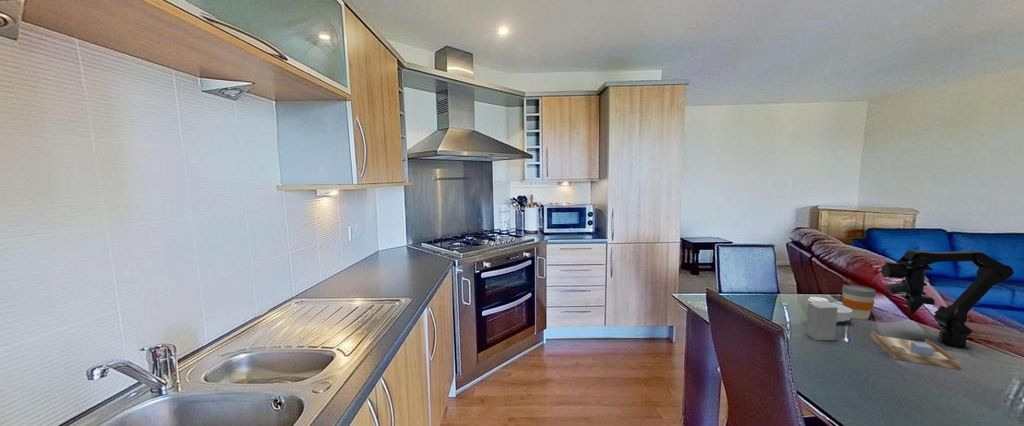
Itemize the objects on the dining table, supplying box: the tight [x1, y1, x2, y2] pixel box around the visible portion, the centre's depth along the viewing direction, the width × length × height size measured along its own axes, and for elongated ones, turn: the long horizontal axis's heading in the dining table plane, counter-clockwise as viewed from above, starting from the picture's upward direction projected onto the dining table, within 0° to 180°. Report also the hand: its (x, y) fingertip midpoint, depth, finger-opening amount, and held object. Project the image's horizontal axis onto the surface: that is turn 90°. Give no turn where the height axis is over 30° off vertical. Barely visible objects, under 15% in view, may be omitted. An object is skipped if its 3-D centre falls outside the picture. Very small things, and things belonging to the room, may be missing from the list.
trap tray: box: [870, 330, 961, 370], centre depth 146 cm, size 18×22×3 cm
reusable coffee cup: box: [841, 284, 876, 320], centre depth 184 cm, size 13×13×15 cm
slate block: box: [910, 342, 934, 357], centre depth 140 cm, size 4×4×4 cm
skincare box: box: [805, 301, 838, 341], centre depth 159 cm, size 8×7×16 cm
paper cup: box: [807, 296, 830, 303], centre depth 172 cm, size 8×8×14 cm
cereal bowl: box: [829, 302, 853, 324], centre depth 181 cm, size 17×17×7 cm
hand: (911, 313), depth 156 cm, fingers closed
